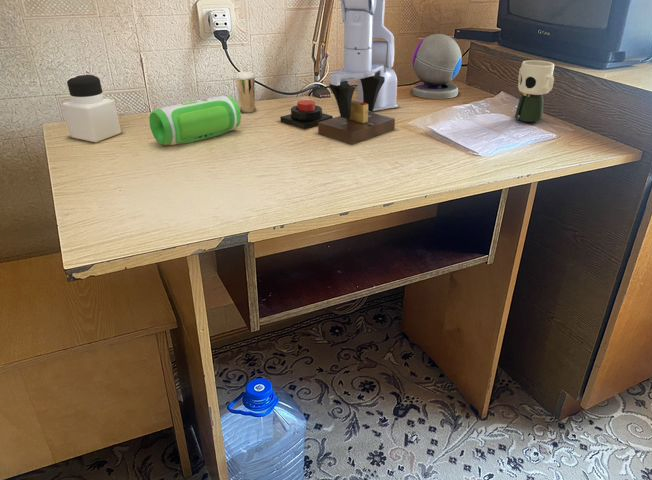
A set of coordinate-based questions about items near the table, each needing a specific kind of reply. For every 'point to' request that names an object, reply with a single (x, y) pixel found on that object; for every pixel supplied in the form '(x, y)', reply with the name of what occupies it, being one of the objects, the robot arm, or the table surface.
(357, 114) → the tan red block
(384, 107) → the robot arm
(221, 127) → the speaker
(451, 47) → the webcam
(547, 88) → the character mug
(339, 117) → the lock plate
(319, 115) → the black button base
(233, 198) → the table surface
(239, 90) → the milkshake
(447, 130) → the table surface
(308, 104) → the release button
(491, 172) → the table surface
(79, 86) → the medicine bottle
